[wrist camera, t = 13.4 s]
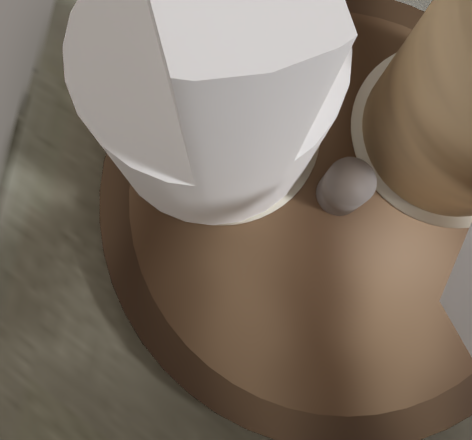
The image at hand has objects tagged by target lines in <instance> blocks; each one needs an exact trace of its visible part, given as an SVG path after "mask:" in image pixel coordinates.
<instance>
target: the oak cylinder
mask: <svg viewBox="0 0 472 440" xmlns="http://www.w3.org/2000/svg"><path fill="white" fill-rule="evenodd" d="M362 132H363V140H364V144H365V148H366V152H367V154H368V156H369V159H370V161H371V163H372V165H373V167H374V169H375V170H376V172H377V173H378V175H379V176H380V177H381V179H382V180H383V181H384V183H385V184H386V185H387V186H388V187H389V188H390V189H391V190H392V191H393V192H395V193H396V194H397V195H398V196H400V197H401V198H402V199H404V200H405V201H407V202H408V203H410V204H412V205H414V206H416V207H418V208H420V209H422V210H425V211H428V212H431V213H434V214H438V215H443V216H452V217H465V216H472V0H433V1H432V2H431V3H430V5H429V6H428V8H427V9H426V11H425V12H424V14H423V15H422V17H421V18H420V19H419V21H418V22H417V24H416V25H415V27H414V28H413V30H412V31H411V33H410V34H409V36H408V37H407V38H406V40H405V41H404V43H403V44H402V46H401V47H400V49H399V50H398V52H397V53H396V54H395V56H394V57H393V59H392V60H391V62H390V63H389V65H388V66H387V68H386V69H385V70H384V72H383V73H382V75H381V76H380V78H379V79H378V81H377V82H376V84H375V85H374V87H373V88H372V90H371V92H370V94H369V96H368V98H367V101H366V104H365V107H364V112H363V118H362Z"/></svg>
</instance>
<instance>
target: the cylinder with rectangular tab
mask: <svg viewBox="0 0 472 440" xmlns="http://www.w3.org/2000/svg"><path fill="white" fill-rule="evenodd" d="M357 35H358V34H357V32H356V29H355V26H354V23H353V21H352V18H351V15H350V12H349V9H348V7H347V4H346V1H345V0H77V1H76V3H75V5H74V7H73V8H72V10H71V12H70V16H69V20H68V24H67V29H66V33H65V37H64V42H63V61H64V77H65V83H66V85H67V88H68V91H69V93H70V96H71V99H72V101H73V104H74V107H75V109H76V112H77V114H78V116H79V117H80V118H81V120H82V121H83V122H84V124H85V125H86V126H87V128H88V129H89V130H90V132H91V133H92V134H93V136H94V137H95V138H96V140H97V141H98V142H99V144H100V145H101V146H102V148H103V149H104V150H105V152H106V153H107V154H108V155H109V157H110V158H111V159H112V161H113V162H114V163H115V165H116V166H117V167H118V168H119V170H120V171H121V172H122V174H123V175H124V176H125V178H126V179H127V180H128V181H129V183H130V184H131V185H132V187H133V188H134V189H135V191H136V192H137V193H138V194H139V196H141V197H142V198H143V199H145V200H146V201H147V202H149V203H150V204H151V205H152V206H154V207H155V208H156V209H158V210H159V211H160V212H163V213H165V214H168V215H170V216H172V217H175V218H177V219H180V220H182V221H185V222H191V223H198V224H206V225H219V224H227V223H235V222H241V221H243V220H245V219H248V218H250V217H253V216H255V215H258V214H260V213H263V212H265V211H266V210H267V209H269V208H270V207H271V206H273V205H274V204H275V203H277V202H278V201H279V200H281V199H282V198H283V197H285V196H286V194H287V193H288V192H289V191H290V189H291V188H292V187H293V185H294V184H295V183H296V181H297V180H298V179H299V177H300V176H301V175H302V173H303V171H304V170H305V168H306V166H307V165H308V163H309V162H310V160H311V158H312V157H313V155H314V153H315V152H316V150H317V149H318V147H319V145H320V144H321V142H322V140H323V139H324V137H325V136H326V134H327V132H328V131H329V129H330V127H331V126H332V124H333V123H334V121H335V119H336V118H337V116H338V113H339V110H340V108H341V105H342V103H343V100H344V98H345V95H346V92H347V90H348V87H349V85H350V74H351V62H352V45H353V43H354V41H355V39H356V37H357Z"/></svg>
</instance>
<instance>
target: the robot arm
mask: <svg viewBox="0 0 472 440" xmlns="http://www.w3.org/2000/svg"><path fill="white" fill-rule="evenodd" d="M440 303H441V305H442V306H443V308H444V310H445V312H446V313H447V315H448V317H449V318H450V320H451V322H452V324H453V325H454V327H455V329H456V331H457V332H458V334H459V336H460V338H461V339H462V341H463V343H464V345H465V346H466V348H467V350H468V352H469V353H470V355H471V357H472V223H471V225H470V228H469V230H468V232H467V235H466V237H465V240H464V242H463V245H462V247H461V250H460V252H459V254H458V257H457V259H456V262H455V264H454V267H453V269H452V272H451V274H450V276H449V279H448V281H447V284H446V286H445V289H444V291H443V293H442V296H441V298H440Z"/></svg>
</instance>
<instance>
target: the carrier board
mask: <svg viewBox="0 0 472 440" xmlns="http://www.w3.org/2000/svg"><path fill="white" fill-rule="evenodd" d="M345 1H346V4H347V7H348V9H349V12H350V15H351V18H352V21H353V23H354V26H355V29H356V32H357V34H358V35H357V37H356V39H355V41H354V43H353V45H352V62H351V74H350V85H349V87H348V90H347V92H346V95H345V98H344V100H343V103H342V105H341V108H340V110H339V113H338V116H337V118H336V119H335V121H334V123H333V124H332V126H331V127H330V129H329V131H328V132H327V134H326V136H325V137H324V139H323V140H322V142H321V144H320V145H319V147H318V149H317V150H316V152H315V153H314V155H313V157H312V158H311V160H310V162H309V163H308V165H307V166H306V168H305V170H304V171H303V173H302V175H301V176H300V177H299V179H298V180H297V181H296V183H295V184H294V185H293V187H292V188H291V189H290V191H289V192H288V193H287V194H286V196H285V197H283V198H282V199H281V200H279V201H278V202H277V203H275V204H274V205H273V206H271V207H270V208H269V209H267V210H266V211H265V212H263V213H260V214H258V215H255V216H253V217H250V218H248V219H245V220H243V221H241V222H235V223H227V224H219V225H206V224H198V223H191V222H185V221H182V220H180V219H177V218H175V217H172V216H170V215H168V214H165V213H163V212H160V211H159V210H158V209H156V208H155V207H154V206H152V205H151V204H150V203H149V202H147V201H146V200H145V199H143V198H142V197H141V196H139V194H138V193H137V192H136V191H135V189H134V188H133V187H132V185H131V184H130V183H129V181H128V180H127V179H126V178H125V176H124V175H123V174H122V172H121V171H120V170H119V168H118V167H117V166H116V165H115V163H114V162H113V161H112V159H111V158H110V157H109V155H108V154H107V153H106V156H105V160H104V165H103V172H102V179H101V186H100V228H101V236H102V243H103V251H104V256H105V259H106V263H107V267H108V270H109V274H110V277H111V281H112V284H113V287H114V289H115V291H116V294H117V296H118V299H119V301H120V303H121V306H122V308H123V310H124V313H125V315H126V316H127V318H128V320H129V321H130V323H131V325H132V326H133V328H134V330H135V331H136V333H137V335H138V336H139V338H140V340H141V341H142V343H143V344H144V346H145V347H146V348H147V349H148V351H149V352H150V353H151V354H152V356H153V357H154V358H155V359H156V361H157V362H158V363H159V364H160V366H161V367H162V368H163V369H164V370H165V371H166V372H167V373H168V374H169V375H170V376H171V377H172V378H173V379H174V380H175V381H176V382H177V383H178V384H179V385H180V386H182V387H183V388H184V389H185V390H186V391H187V392H188V393H189V394H190V395H192V396H193V397H195V398H196V399H197V400H199V401H200V402H202V403H203V404H204V405H206V406H207V407H208V408H210V409H211V410H213V411H214V412H215V413H217V414H219V415H221V416H222V417H224V418H226V419H228V420H230V421H232V422H234V423H236V424H238V425H239V426H241V427H243V428H245V429H247V430H249V431H252V432H255V433H258V434H260V435H263V436H266V437H269V438H271V439H274V440H421V439H423V438H426V437H428V436H431V435H434V434H436V433H439V432H441V431H444V430H447V429H449V428H450V427H452V426H454V425H456V424H457V423H459V422H461V421H463V420H464V419H466V418H468V417H470V416H471V415H472V357H471V355H470V353H469V352H468V350H467V348H466V346H465V345H464V343H463V341H462V339H461V338H460V336H459V334H458V332H457V331H456V329H455V327H454V325H453V324H452V322H451V320H450V318H449V317H448V315H447V313H446V312H445V310H444V308H443V306H442V305H441V303H440V298H441V296H442V293H443V291H444V289H445V286H446V284H447V281H448V279H449V276H450V274H451V272H452V269H453V267H454V264H455V262H456V259H457V257H458V254H459V252H460V250H461V247H462V245H463V242H464V240H465V237H466V235H467V232H468V230H469V228H470V225H471V223H472V216H465V217H452V216H443V215H438V214H434V213H431V212H428V211H425V210H422V209H420V208H418V207H416V206H414V205H412V204H410V203H408V202H407V201H405V200H404V199H402V198H401V197H400V196H398V195H397V194H396V193H395V192H393V191H392V190H391V189H390V188H389V187H388V186H387V185H386V184H385V183H384V181H383V180H382V179H381V177H380V176H379V175H378V173H377V172H376V170H375V169H374V167H373V165H372V163H371V161H370V159H369V156H368V154H367V152H366V148H365V144H364V140H363V132H362V118H363V112H364V107H365V104H366V101H367V98H368V96H369V94H370V92H371V90H372V88H373V87H374V85H375V84H376V82H377V81H378V79H379V78H380V76H381V75H382V73H383V72H384V70H385V69H386V68H387V66H388V65H389V63H390V62H391V60H392V59H393V57H394V56H395V54H396V53H397V52H398V50H399V49H400V47H401V46H402V44H403V43H404V41H405V40H406V38H407V37H408V36H409V34H410V33H411V31H412V30H413V28H414V27H415V25H416V24H417V22H418V21H419V19H420V18H421V17H422V15H423V14H424V11H421V10H419V9H417V8H415V7H412V6H410V5H407V4H404V3H401V2H398V1H395V0H345Z"/></svg>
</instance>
